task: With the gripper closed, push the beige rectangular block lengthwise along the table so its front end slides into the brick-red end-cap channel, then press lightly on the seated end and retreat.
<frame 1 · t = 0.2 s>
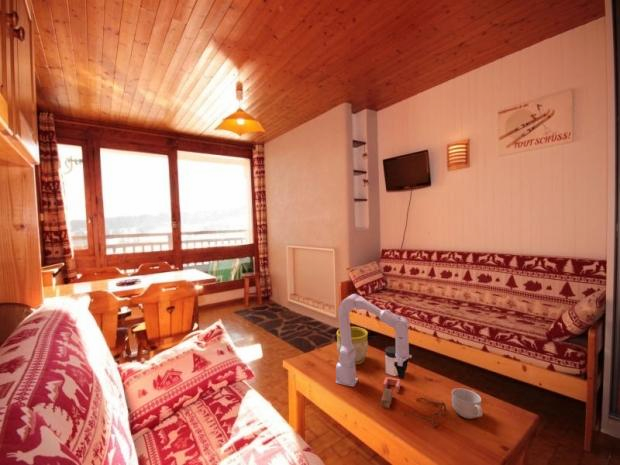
hand: (402, 374, 134), 10 cm above the table, fingers open, 7 cm apart
jar: (393, 372, 156), on the table
teacup: (468, 416, 119), on the table
glasses: (424, 414, 122), on the table
end cap: (392, 387, 141), on the table
beige rectangular block: (387, 402, 131), on the table
flowerpot: (352, 360, 171), on the table
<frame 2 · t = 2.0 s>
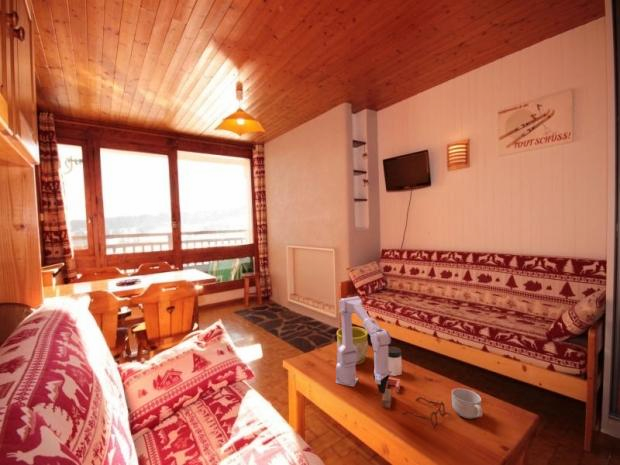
hand: (382, 392, 122), 9 cm above the table, fingers closed
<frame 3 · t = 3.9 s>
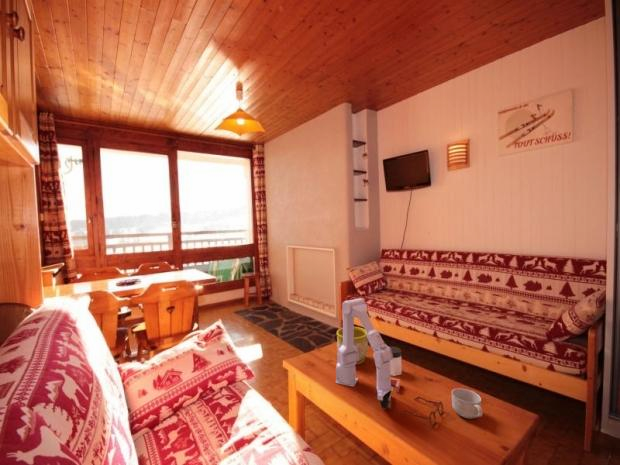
hand: (384, 407, 125), 1 cm above the table, fingers closed
beige rectangular block: (387, 402, 131), on the table, touching gripper
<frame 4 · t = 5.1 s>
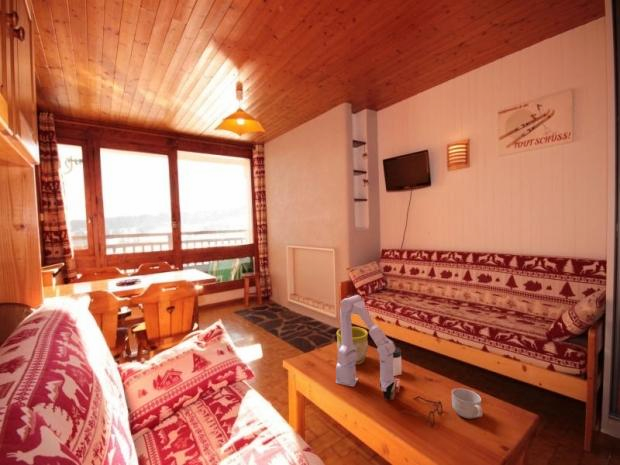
hand: (387, 398, 131), 1 cm above the table, fingers closed
beige rectangular block: (391, 393, 136), on the table, touching gripper
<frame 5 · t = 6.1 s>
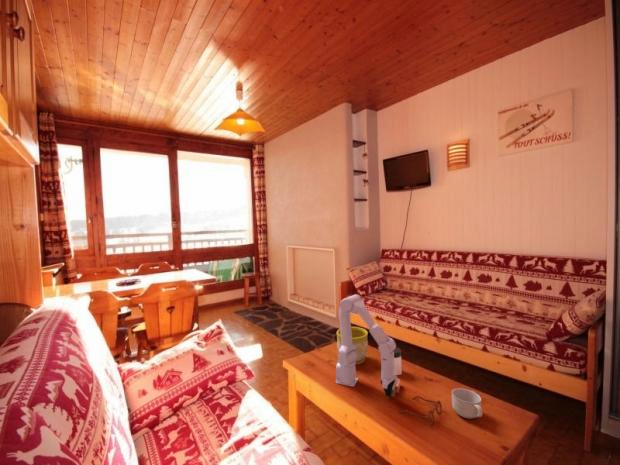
hand: (388, 395, 133), 1 cm above the table, fingers closed
beige rectangular block: (392, 391, 138), on the table
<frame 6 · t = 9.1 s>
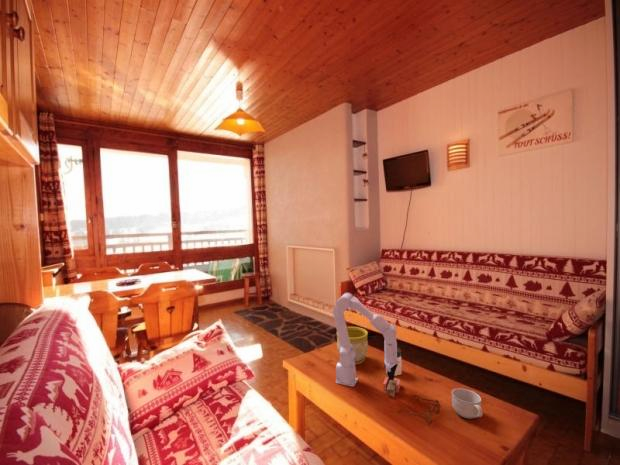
hand: (391, 379, 140), 5 cm above the table, fingers closed
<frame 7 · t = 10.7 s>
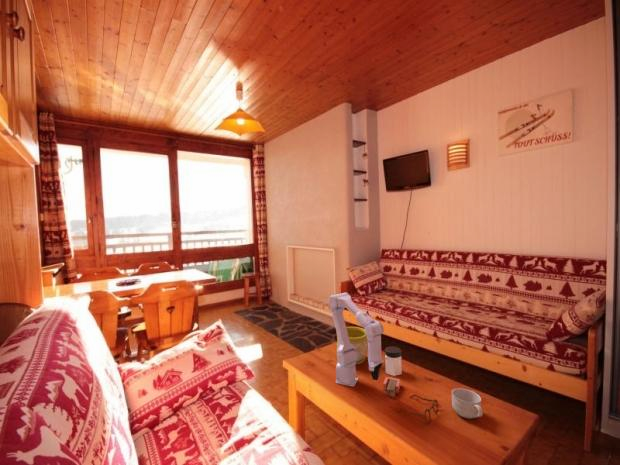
hand: (375, 379, 132), 9 cm above the table, fingers closed
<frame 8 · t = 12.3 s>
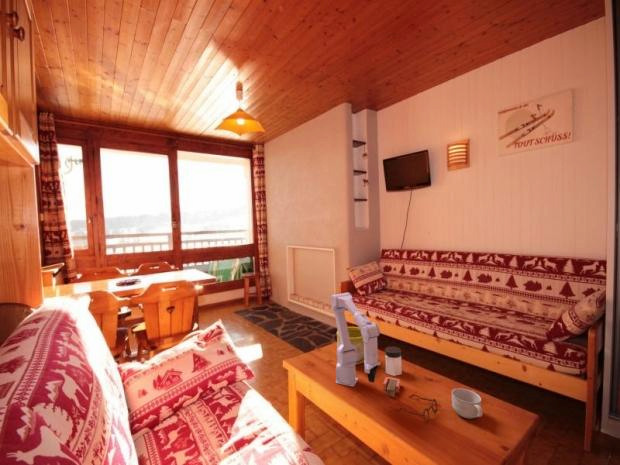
hand: (371, 381, 130), 9 cm above the table, fingers closed
at the end: beige rectangular block 0.9 cm from the target spot on the end cap, point 0.0 cm above the end cap's base; beige rectangular block tilted 0°; the gripper is holding nothing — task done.
